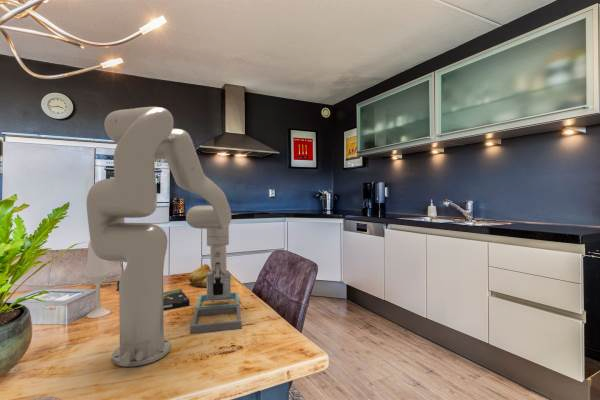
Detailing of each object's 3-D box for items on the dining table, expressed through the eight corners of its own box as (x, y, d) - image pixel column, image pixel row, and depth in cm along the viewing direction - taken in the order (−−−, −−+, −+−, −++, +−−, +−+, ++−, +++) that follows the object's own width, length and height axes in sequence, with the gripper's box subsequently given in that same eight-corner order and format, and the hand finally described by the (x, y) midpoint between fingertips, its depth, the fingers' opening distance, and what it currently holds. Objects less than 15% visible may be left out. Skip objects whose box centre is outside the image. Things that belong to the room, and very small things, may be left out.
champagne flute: (107, 316, 100) (106, 241, 99) (82, 318, 98) (81, 242, 97) (112, 309, 106) (112, 238, 106) (89, 311, 104) (89, 239, 104)
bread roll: (217, 286, 133) (217, 267, 132) (194, 290, 127) (194, 271, 127) (208, 280, 143) (208, 262, 143) (186, 283, 138) (186, 265, 138)
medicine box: (229, 294, 113) (228, 270, 113) (230, 297, 109) (230, 273, 109) (206, 296, 110) (206, 272, 110) (207, 300, 106) (207, 275, 106)
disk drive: (190, 307, 109) (180, 295, 121) (190, 299, 109) (180, 288, 121) (158, 313, 103) (151, 300, 116) (158, 305, 103) (151, 293, 116)
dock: (241, 328, 90) (241, 321, 90) (190, 333, 87) (190, 326, 86) (237, 297, 118) (237, 291, 118) (199, 300, 115) (199, 294, 115)
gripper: (228, 243, 102) (229, 299, 102) (228, 237, 118) (229, 284, 119) (205, 244, 100) (205, 301, 100) (208, 237, 117) (208, 286, 117)
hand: (218, 291), depth 110 cm, fingers closed on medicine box, 4 cm apart
